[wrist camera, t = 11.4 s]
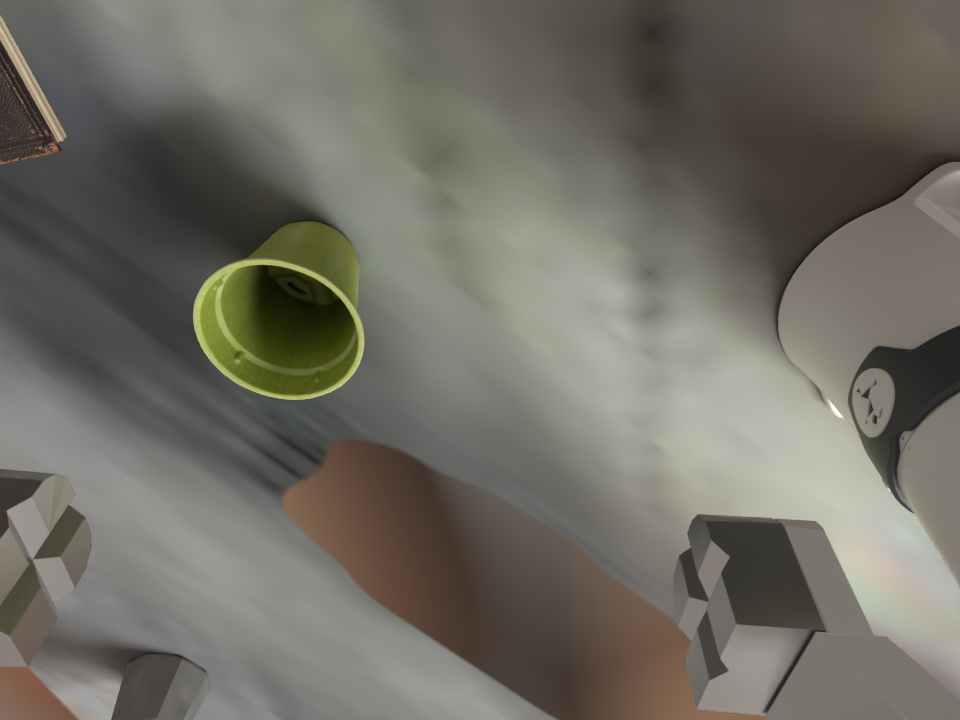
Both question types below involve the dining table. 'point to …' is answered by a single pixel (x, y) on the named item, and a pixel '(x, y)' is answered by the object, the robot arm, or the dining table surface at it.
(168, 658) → the coffeepot
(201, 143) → the dining table surface
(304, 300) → the plant pot
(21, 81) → the hardcover book
